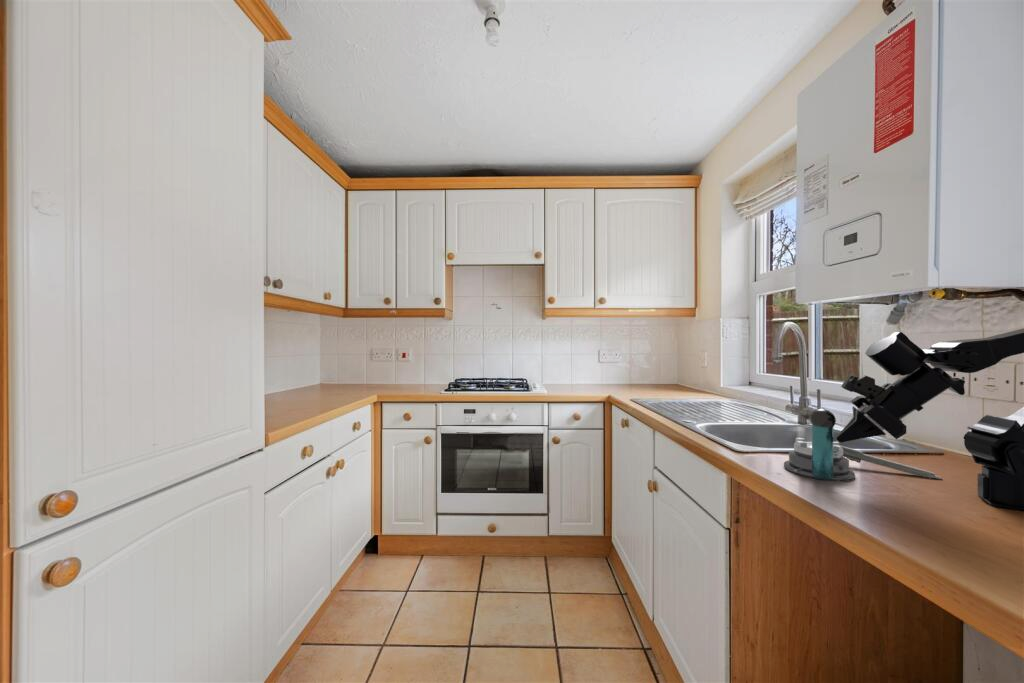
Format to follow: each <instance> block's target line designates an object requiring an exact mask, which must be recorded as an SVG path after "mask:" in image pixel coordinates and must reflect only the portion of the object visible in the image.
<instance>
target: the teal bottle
mask: <svg viewBox="0 0 1024 683" xmlns="http://www.w3.org/2000/svg"><path fill="white" fill-rule="evenodd" d="M809 423H810V424H811V441H806V438H803V437H796V438H795V442H794V443H793V450H794V453H795V454H797V455H800V456H803V457H806V458H811V459H812V475H813V476H815V477H818V478H823V479H833V461H840V460H843V449H842V446H843V445H841V442H839V441H838V442H836V441H834V426H835V425H836V423H837V418H836V416H835V414H834V413H832V412H831V411H830V410H828V409H825V408H818V409H815V410H814V411H812V412H810V415H809Z"/></svg>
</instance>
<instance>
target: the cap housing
mask: <svg viewBox="0 0 1024 683" xmlns="http://www.w3.org/2000/svg"><path fill="white" fill-rule="evenodd" d="M783 468H784V469H785V470H786V471H788V472H789V473H792V474H794V473H795V475H797V474H798V475H797V476H802V477H805V478H809V477H810V479H815V480H820V481H828V482H829V481H830V482H851V481H853V480H855V479H856V474H855V472H854V471H853V470H851V469H850V460H849V459H848V458H847V457H843V460H840V461H833V479H823V478H818V477H815V476H813V475H812V459H811V458H806V457H803V456H800V455H797V454H795V453H794V449H793V450H789V451H788V459H787V460H786V461H784V462H783Z"/></svg>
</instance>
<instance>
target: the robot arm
mask: <svg viewBox="0 0 1024 683" xmlns="http://www.w3.org/2000/svg"><path fill="white" fill-rule="evenodd" d="M864 354H865V356H867V357H868V358H869V359H870V360H872V361H873V362H874V363H875V364H877V366H879V367H881V369H882V370H884V371H885V372H887V373H888V374H889V375H890V376H901V377H899V378H898V379H897V380H896V381H893V382H892V383H890V382H889V383H887V382H886V383H885V384H883V385H881V386H880V385H877V384H876V378H874V377H870V376H868V375H862V376H861V377H857V376H855V375H853V374H850V373H848V375H847V376H846V378H845V380H844V381H843V383H842V384H841V386H840V387H841V388H842V389H844V390H846V391H848V392H851V393H855V394H858V395H857V396H855V397H853V399H851V400H850V403H851V404H853V405H852V407H851V408H852V418H851V419H850V420H849V422H848V423H847V424H846V425H845V427H844V428H843V429H842V430H841V431H839V433H838V434H837V435H836V437H835V439H836V441H838V443H844V442H852V441H857V440H861V439H866V438H873V437H878V436H879V437H880V436H885V435H887V433H888V434H889V435H890V436H892V437H893V438H894V439H896V440H898V439H899V438H901V437H903V436H904V435H906V434H907V425H906V424H904V423H903V421H902V419H903V418H905V417H907V416H908V415H910V414H912V413H913V412H914V411H917V412H920V411H922V410H924V407H923V405H925V404H927V403H928V402H930V401H931V400H934V399H935V398H936V397H937V396H939V395H941V394H942V393H944V392H945V391H947V390H949V391H951V392H954V393H955V394H957V395H960V396H964V395H965V394H966V390H965V384H966V380H965V379H961V378H960V377H953V376H951V375H950V374H949V373H948V372H951V373H952V372H954V373H962V374H963V373H964V374H971V373H977V372H978V373H979V372H980V371H982V370H986V369H987V368H988V369H989V368H990V367H993V366H995V365H997V364H998V363H1000V362H1001V361H1002V360H1004V359H1006V358H1009V357H1013V356H1016V355H1021V354H1024V328H1020V329H1016V330H1012V331H1007V332H1003V333H999V334H996V335H991V336H987V337H982V338H981V337H980V338H971V339H970V338H968V339H967V338H966V339H957V340H947V341H940V342H939V341H938V342H936V343H934V344H932V345H931V346H930V348H925V349H922V348H921V347H919V346H918V345H917V344H915V343H914V342H913V341H912V340H911V339H910V338H908V336H907V335H906V334H905V333H904V332H901V331H899V332H897V331H896V332H895V331H894V332H893V333H891V334H890V335H889V336H885V337H883V338H881V339H880V340H878V341H876V342H873V343H872V344H871V345H870V346H869V347H868V348H867V349H866V351H865V352H864ZM928 364H930V366H929V365H928ZM931 366H932V367H933V368H932V367H931ZM966 428H967V429H969V430H967V432H966V433H965V434H964V436H963V441H964V442H963V443H964V444H963V445H964V447H965V449H966V450H967V452H968V453H969V454H970V455H971V457H972V459H973V461H974V463H975V464H977V465H981V473H980V472H979V473H977V495H978V496H979V497H980V498H981V499H983V500H984V501H985V502H987V503H988V504H989V505H991V506H993V507H999V508H1006V509H1013V510H1018V511H1019V510H1020V511H1024V406H1023V407H1021V408H1019V409H1018V410H1017V411H1016V412H1013V413H1012V414H1011V415H1009V416H1005V417H1002V416H995V415H990V414H987V415H986V414H985V415H984V416H983V417H982V418H981V419H979V421H978V422H976V423H974V424H973V425H971V426H967V427H966ZM884 431H886V432H887V433H886V432H884Z"/></svg>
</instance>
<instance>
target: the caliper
mask: <svg viewBox="0 0 1024 683" xmlns="http://www.w3.org/2000/svg"><path fill="white" fill-rule="evenodd" d="M835 442H838V443H839V441H838V440H836V441H835ZM841 446H842V449H843V457H845V458H847V459H848V460H849V461H851V462H856V463H859V464H860V463H861V461H864V462H867V463H871V464H874V465H878V466H883V467H886V468H889V469H893V470H896V471H900V472H903V473H908V474H910V475H913V476H914V475H915V476H918V477H921V476H923V477H922V478H925V477H929V478H928V479H932V478H934V479H937V480H940V479H943V477H942V476H940V475H936V474H935V472H934V471H933V472H932V471H929V470H925V469H922V468H919V467H914V466H911V465H906V464H904V463H900V462H896V461H892V460H888V459H885V458H881V457H877V456H874V455H870V454H866V453H864V452H863V451H861V450H858V449H855V448H851V447H847V446H843V445H841Z"/></svg>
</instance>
